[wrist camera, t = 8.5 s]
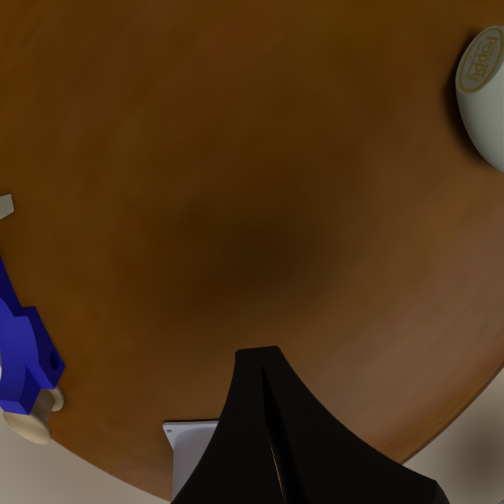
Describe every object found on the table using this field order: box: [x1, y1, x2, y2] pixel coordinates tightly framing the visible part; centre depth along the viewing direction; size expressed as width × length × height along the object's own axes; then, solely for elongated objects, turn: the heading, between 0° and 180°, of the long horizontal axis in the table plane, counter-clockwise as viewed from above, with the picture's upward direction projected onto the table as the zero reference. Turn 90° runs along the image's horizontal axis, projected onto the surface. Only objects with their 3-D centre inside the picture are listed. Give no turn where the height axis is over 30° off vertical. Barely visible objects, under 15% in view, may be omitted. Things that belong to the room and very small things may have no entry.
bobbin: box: [3, 386, 65, 444], centre depth 20 cm, size 5×5×5 cm
